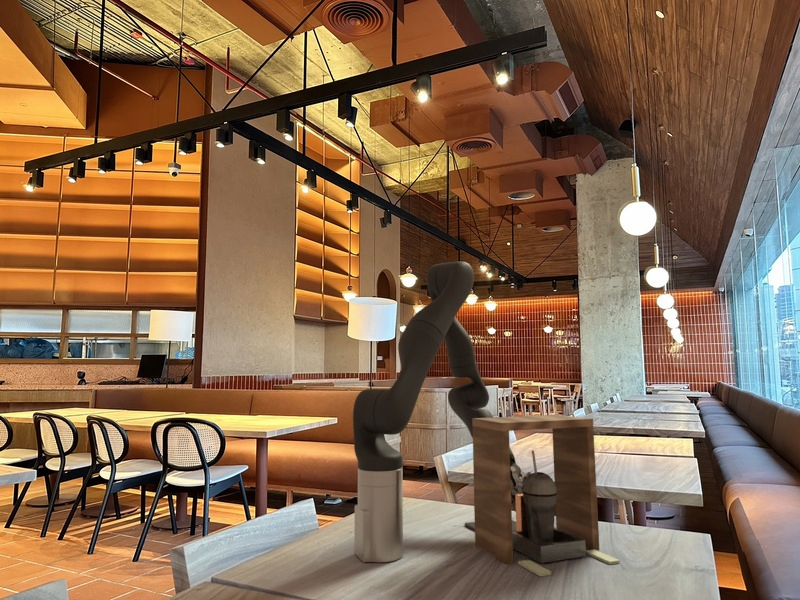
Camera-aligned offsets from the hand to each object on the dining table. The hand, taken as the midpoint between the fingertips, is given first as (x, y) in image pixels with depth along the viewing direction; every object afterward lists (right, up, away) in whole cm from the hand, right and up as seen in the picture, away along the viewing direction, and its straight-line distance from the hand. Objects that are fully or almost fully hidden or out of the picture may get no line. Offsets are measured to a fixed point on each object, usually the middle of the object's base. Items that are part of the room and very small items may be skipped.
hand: (524, 513), depth 121 cm
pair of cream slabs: (+5, -4, -14) cm, 16 cm away
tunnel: (+2, -5, -5) cm, 7 cm away
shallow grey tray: (+3, -5, -7) cm, 9 cm away
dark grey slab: (-4, -7, +10) cm, 13 cm away
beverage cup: (+2, -5, -6) cm, 8 cm away
